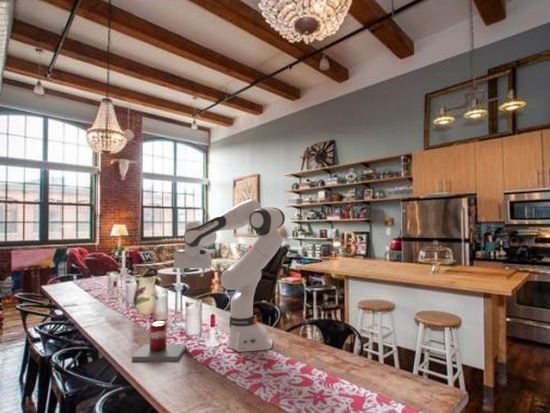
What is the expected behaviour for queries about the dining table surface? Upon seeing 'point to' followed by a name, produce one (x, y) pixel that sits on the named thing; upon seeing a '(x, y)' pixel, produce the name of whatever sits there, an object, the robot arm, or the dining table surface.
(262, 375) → the dining table surface
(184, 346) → the serving board
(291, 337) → the dining table surface
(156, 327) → the soda can
